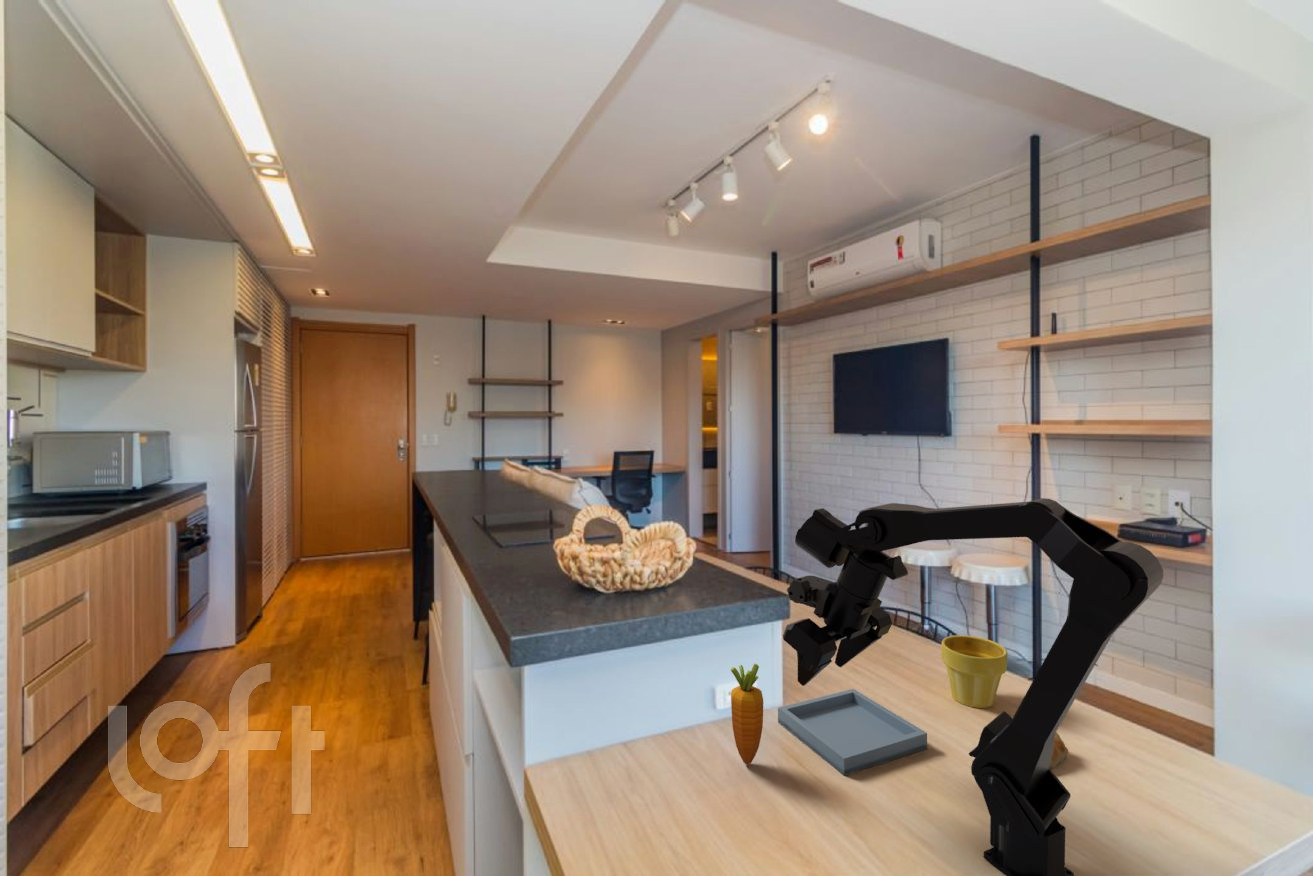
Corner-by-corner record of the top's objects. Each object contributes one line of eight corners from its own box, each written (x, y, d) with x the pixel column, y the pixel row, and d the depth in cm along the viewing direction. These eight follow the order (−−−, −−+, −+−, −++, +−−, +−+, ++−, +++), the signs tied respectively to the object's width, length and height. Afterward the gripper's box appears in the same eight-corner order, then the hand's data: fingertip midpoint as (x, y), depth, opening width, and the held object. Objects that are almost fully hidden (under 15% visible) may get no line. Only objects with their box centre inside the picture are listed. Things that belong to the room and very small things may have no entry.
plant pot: (1014, 717, 100) (1015, 660, 99) (947, 710, 102) (948, 654, 102) (996, 689, 110) (997, 637, 109) (935, 683, 112) (936, 632, 112)
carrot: (725, 769, 86) (724, 667, 86) (737, 751, 91) (736, 655, 90) (758, 778, 84) (757, 674, 83) (768, 760, 88) (768, 661, 88)
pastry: (1048, 782, 83) (1048, 755, 82) (995, 761, 88) (996, 736, 88) (1070, 757, 89) (1070, 732, 88) (1020, 739, 94) (1020, 715, 94)
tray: (927, 749, 91) (927, 733, 91) (844, 775, 84) (844, 758, 84) (853, 702, 105) (853, 688, 105) (778, 722, 99) (778, 707, 99)
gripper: (848, 544, 94) (815, 624, 99) (772, 565, 82) (739, 654, 87) (911, 586, 86) (871, 670, 91) (837, 616, 74) (796, 710, 79)
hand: (820, 674), depth 87 cm, fingers open, 9 cm apart
